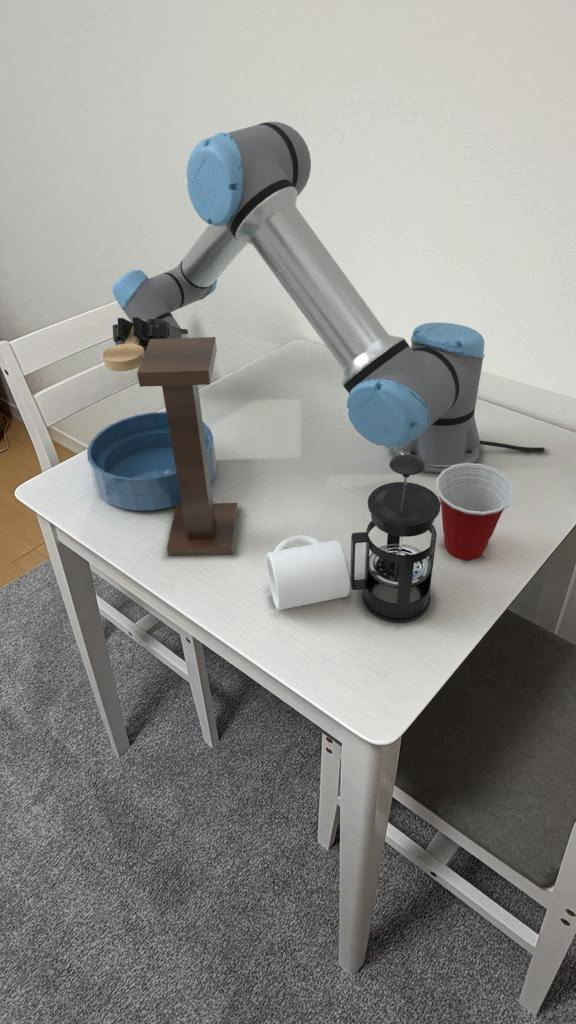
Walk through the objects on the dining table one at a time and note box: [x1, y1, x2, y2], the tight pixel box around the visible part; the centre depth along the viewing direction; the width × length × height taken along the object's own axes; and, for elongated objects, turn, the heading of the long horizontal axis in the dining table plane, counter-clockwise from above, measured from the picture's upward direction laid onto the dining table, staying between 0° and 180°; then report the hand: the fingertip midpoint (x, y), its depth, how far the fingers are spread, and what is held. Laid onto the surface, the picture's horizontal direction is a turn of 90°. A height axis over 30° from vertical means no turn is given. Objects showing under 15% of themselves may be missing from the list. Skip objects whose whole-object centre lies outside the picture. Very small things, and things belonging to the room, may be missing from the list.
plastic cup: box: [435, 463, 516, 561], centre depth 99 cm, size 11×11×12 cm
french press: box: [349, 455, 441, 624], centre depth 88 cm, size 12×9×23 cm
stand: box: [136, 336, 239, 557], centre depth 99 cm, size 11×10×30 cm
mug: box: [265, 534, 351, 611], centre depth 96 cm, size 12×10×8 cm
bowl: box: [86, 411, 218, 512], centre depth 119 cm, size 21×21×7 cm
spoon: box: [102, 319, 146, 372], centre depth 105 cm, size 16×6×2 cm, turn 179°
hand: (128, 326), depth 104 cm, fingers closed on spoon, 2 cm apart
